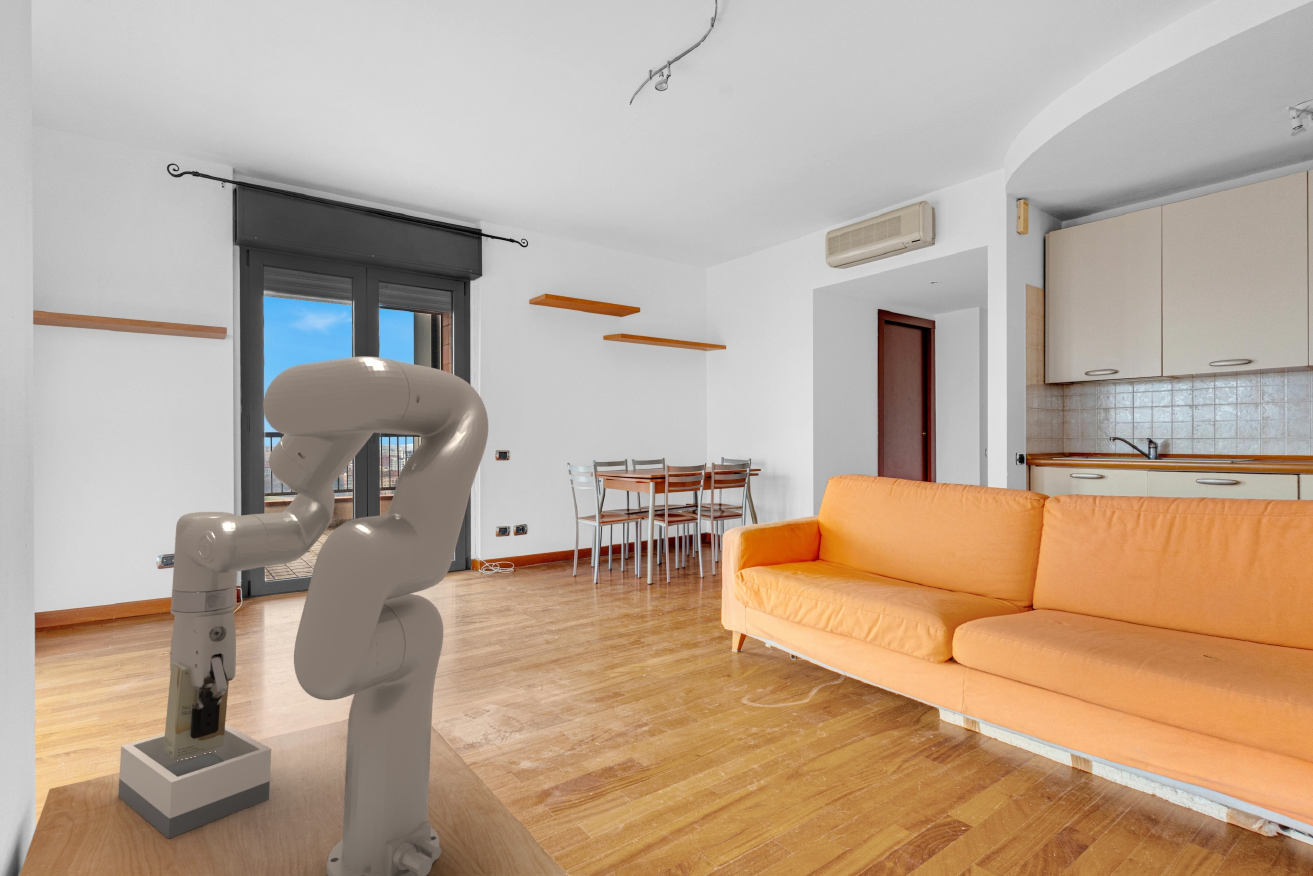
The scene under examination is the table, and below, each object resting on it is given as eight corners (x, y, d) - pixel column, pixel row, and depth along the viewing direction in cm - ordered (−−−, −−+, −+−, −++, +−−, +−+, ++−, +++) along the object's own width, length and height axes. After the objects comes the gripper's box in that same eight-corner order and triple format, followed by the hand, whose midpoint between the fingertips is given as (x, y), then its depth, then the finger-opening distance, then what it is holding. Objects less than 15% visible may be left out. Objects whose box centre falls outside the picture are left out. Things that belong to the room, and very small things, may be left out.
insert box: (268, 799, 91) (271, 748, 92) (168, 839, 81) (171, 782, 82) (214, 764, 101) (216, 719, 101) (118, 796, 91) (121, 746, 91)
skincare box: (172, 761, 88) (178, 670, 88) (162, 751, 90) (168, 662, 91) (226, 745, 93) (232, 659, 93) (215, 736, 95) (220, 653, 96)
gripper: (261, 605, 91) (253, 737, 90) (207, 587, 100) (200, 707, 99) (200, 614, 84) (191, 757, 84) (148, 594, 94) (140, 722, 93)
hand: (196, 728), depth 92 cm, fingers closed on skincare box, 4 cm apart
